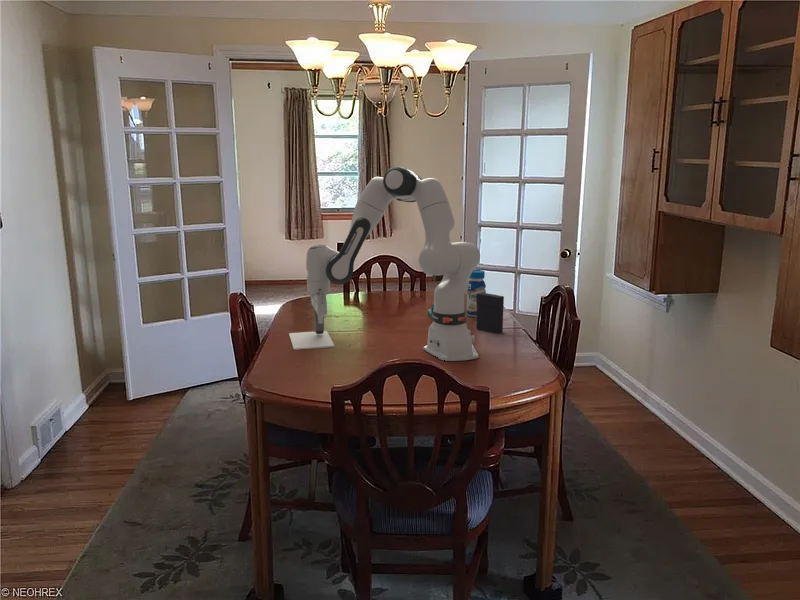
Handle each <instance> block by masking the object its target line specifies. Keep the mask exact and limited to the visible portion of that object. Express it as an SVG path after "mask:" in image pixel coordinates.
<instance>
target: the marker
mask: <svg viewBox="0 0 800 600" xmlns="http://www.w3.org/2000/svg"><path fill="white" fill-rule="evenodd" d="M313 311H314V332H316V334H323V333H324V331H325V315H324V316H323V323H322V324H319V323H318V315H317V313H316V311H315V304H314V307H313Z"/></svg>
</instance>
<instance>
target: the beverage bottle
mask: <svg viewBox="0 0 800 600" xmlns="http://www.w3.org/2000/svg"><path fill="white" fill-rule="evenodd" d="M485 275H486V274H485V270H483V269H474V270H473V271H472V273H471V275H470V277H469V280H468V283H467V286H466V316H469V317H475V318H477V303H476V296H477V294H478V293H487V291H486V288H487V284H486V282H485V281H484V279H485Z"/></svg>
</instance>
